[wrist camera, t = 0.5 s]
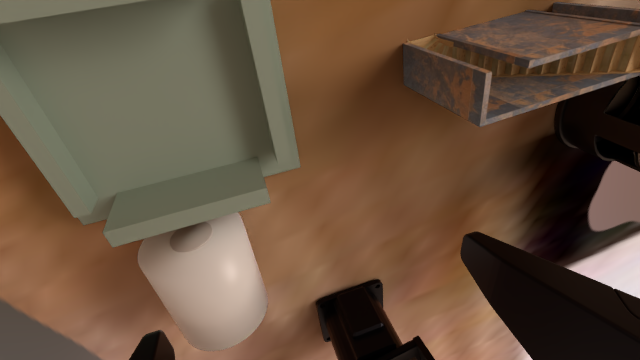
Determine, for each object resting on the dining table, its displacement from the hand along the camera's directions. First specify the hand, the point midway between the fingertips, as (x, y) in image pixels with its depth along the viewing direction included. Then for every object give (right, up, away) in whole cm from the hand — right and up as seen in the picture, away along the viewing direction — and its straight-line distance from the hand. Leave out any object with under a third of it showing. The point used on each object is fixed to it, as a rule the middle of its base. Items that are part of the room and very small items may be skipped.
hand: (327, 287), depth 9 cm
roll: (-8, -2, +14) cm, 16 cm away
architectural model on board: (+10, +13, +13) cm, 20 cm away
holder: (-9, +8, +8) cm, 14 cm away
